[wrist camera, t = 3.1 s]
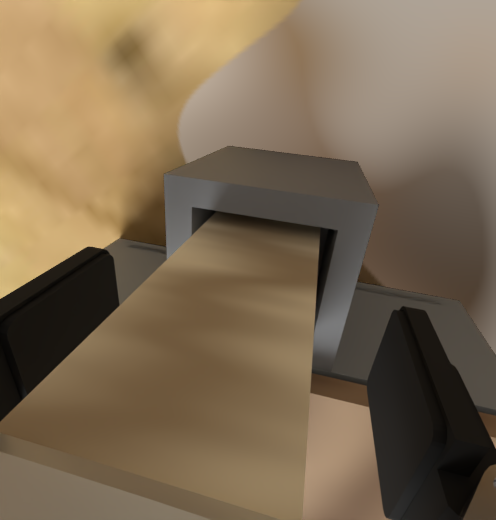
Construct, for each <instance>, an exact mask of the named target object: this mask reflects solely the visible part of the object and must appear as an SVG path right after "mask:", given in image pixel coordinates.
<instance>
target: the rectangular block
mask: <svg viewBox="0 0 496 520" xmlns="http://www.w3.org/2000/svg"><path fill="white" fill-rule="evenodd" d="M319 243H320V227H315V226H309V225H302V224H296V223H290V222H283V221H277V220H271V219H265V218H258V217H252V216H246V215H239V214H233V213H227V212H221V211H217V212H215V213H214V214H213V215H212V216H211V217H210V218H209V219H208V220H207V221H206V222H205V223H204V224H203V225H202V226H201V227H200V228H199V229H198V230H197V231H196V232H195V233H194V234H193V235H192V236H191V237H190V238H189V239H188V240H187V241H186V242H185V243H184V244H183V245H182V246H181V247H179V248H178V249H177V250H176V251H175V252H174V253H173V254H172V255H171V256H170V257H169V258H168V259H167V260H166V261H165V262H164V263H163V264H162V265H161V266H160V267H159V268H158V269H157V270H156V271H155V272H154V273H153V274H152V275H151V276H150V277H149V278H148V279H147V280H146V281H145V282H143V283H142V284H141V285H140V286H139V287H138V288H137V289H136V290H135V291H134V292H133V293H132V294H131V295H130V296H129V297H128V298H127V299H126V300H125V301H124V302H123V303H122V304H121V305H120V306H119V307H118V308H117V309H116V310H115V311H114V312H113V313H112V314H111V315H110V316H109V317H107V318H106V319H105V320H104V321H103V322H102V323H101V324H100V325H99V326H98V327H97V328H96V329H95V330H94V331H93V332H92V333H91V334H90V335H89V336H88V337H87V338H86V339H85V340H84V341H83V342H82V343H81V344H80V345H79V346H78V347H77V348H76V349H75V350H74V351H73V352H71V353H70V354H69V355H68V356H67V357H66V358H65V359H64V360H63V361H62V362H61V363H60V364H59V365H58V366H57V367H56V368H55V369H54V370H53V371H52V372H51V373H50V374H49V375H48V376H47V377H46V378H45V379H44V380H43V381H42V382H41V383H40V384H39V385H38V386H37V387H36V388H34V389H33V390H32V391H31V392H30V393H29V394H28V395H27V396H26V397H25V398H24V399H23V400H22V401H21V402H20V403H19V404H18V405H17V406H16V407H15V408H14V409H13V410H12V411H11V412H10V413H9V414H8V415H7V416H6V417H5V418H4V419H3V420H2V421H1V422H0V433H2V434H6V435H9V436H12V437H16V438H19V439H22V440H25V441H29V442H32V443H35V444H39V445H42V446H45V447H49V448H52V449H55V450H59V451H62V452H65V453H68V454H72V455H75V456H78V457H81V458H85V459H88V460H91V461H94V462H98V463H101V464H104V465H107V466H111V467H114V468H117V469H120V470H124V471H127V472H130V473H133V474H136V475H140V476H143V477H146V478H149V479H153V480H156V481H159V482H162V483H166V484H169V485H172V486H175V487H178V488H182V489H185V490H188V491H191V492H195V493H198V494H201V495H204V496H207V497H210V498H214V499H217V500H220V501H223V502H226V503H229V504H233V505H236V506H239V507H242V508H245V509H249V510H252V511H255V512H258V513H261V514H264V515H268V516H271V517H274V518H277V519H280V520H302V517H303V501H304V485H305V469H306V453H307V436H308V420H309V404H310V388H311V372H312V356H313V340H314V324H315V308H316V291H317V275H318V259H319Z"/></svg>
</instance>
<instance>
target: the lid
mask: <svg viewBox="0 0 496 520" xmlns="http://www.w3.org/2000/svg"><path fill="white" fill-rule="evenodd" d="M478 413H479V415H480V417H481V419H482V421H483V423H484V425H485V427H486V429H487V431H488V433H489V435H490V437H491V439H492V442H493V444H494V446H495V448H496V416H494V415H490V414H486V413H482V412H478ZM302 520H392V519H388V518H386V517H385V515H384V511H383V505H382V498H381V491H380V483H379V476H378V468H377V461H376V454H375V446H374V439H373V432H372V424H371V417H370V409H369V402H368V395H367V386H365V385H361V384H357V383H353V382H348V381H344V380H340V379H335V378H331V377H327V376H322V375H318V374H314V373H311V388H310V404H309V420H308V436H307V453H306V469H305V485H304V501H303V517H302Z"/></svg>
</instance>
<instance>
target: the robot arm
mask: <svg viewBox="0 0 496 520" xmlns="http://www.w3.org/2000/svg"><path fill="white" fill-rule="evenodd" d="M119 306H120V305H119V297H118V289H117V281H116V273H115V264H114V258H113V256H112V255H110V253H109V252H108V251H107V250H105V249H100V248H95V247H86V248H85V249H83V250H81V251H80V252H78V253H76V254H75V255H73V256H71V257H70V258H68V259H66V260H65V261H63V262H61V263H60V264H58V265H56V266H55V267H53V268H51V269H50V270H48V271H46V272H45V273H43V274H41V275H40V276H38V277H36V278H35V279H33V280H31V281H30V282H28V283H26V284H25V285H23V286H21V287H20V288H18V289H16V290H15V291H13V292H11V293H10V294H8V295H6V296H5V297H3V298H1V299H0V422H1V421H2V420H3V419H4V418H5V417H6V416H7V415H8V414H9V413H10V412H11V411H12V410H13V409H14V408H15V407H16V406H17V405H18V404H19V403H20V402H21V401H22V400H23V399H24V398H25V397H26V396H27V395H28V394H29V393H30V392H31V391H32V390H33V389H34V388H36V387H37V386H38V385H39V384H40V383H41V382H42V381H43V380H44V379H45V378H46V377H47V376H48V375H49V374H50V373H51V372H52V371H53V370H54V369H55V368H56V367H57V366H58V365H59V364H60V363H61V362H62V361H63V360H64V359H65V358H66V357H67V356H68V355H69V354H70V353H71V352H73V351H74V350H75V349H76V348H77V347H78V346H79V345H80V344H81V343H82V342H83V341H84V340H85V339H86V338H87V337H88V336H89V335H90V334H91V333H92V332H93V331H94V330H95V329H96V328H97V327H98V326H99V325H100V324H101V323H102V322H103V321H104V320H105V319H106V318H107V317H109V316H110V315H111V314H112V313H113V312H114V311H115V310H116V309H117V308H118V307H119ZM367 395H368V402H369V409H370V417H371V424H372V432H373V439H374V446H375V454H376V461H377V468H378V476H379V483H380V491H381V498H382V505H383V511H384V515H385V517H386V518H388V519H392V520H496V448H495V446H494V444H493V442H492V439H491V437H490V435H489V433H488V431H487V429H486V427H485V425H484V423H483V421H482V419H481V417H480V415H479V413H478V411H477V409H476V407H475V404H474V402H473V400H472V398H471V396H470V394H469V392H468V390H467V388H466V386H465V384H464V382H463V380H462V378H461V376H460V374H459V372H458V370H457V368H456V367H455V366H454V365H452V364H451V363H450V361H449V359H448V357H447V355H446V353H445V350H444V348H443V346H442V344H441V342H440V340H439V338H438V336H437V333H436V331H435V329H434V327H433V325H432V323H431V321H430V319H429V316H428V314H427V312H426V311H425V310H421V309H416V308H411V307H406V306H402V307H401V308H400V310H393V311H392V313H391V316H390V319H389V321H388V324H387V327H386V330H385V332H384V335H383V338H382V341H381V343H380V346H379V349H378V352H377V354H376V357H375V360H374V362H373V365H372V368H371V371H370V373H369V376H368V380H367ZM0 520H280V519H277V518H274V517H271V516H268V515H264V514H261V513H258V512H255V511H252V510H249V509H245V508H242V507H239V506H236V505H233V504H229V503H226V502H223V501H220V500H217V499H214V498H210V497H207V496H204V495H201V494H198V493H195V492H191V491H188V490H185V489H182V488H178V487H175V486H172V485H169V484H166V483H162V482H159V481H156V480H153V479H149V478H146V477H143V476H140V475H136V474H133V473H130V472H127V471H124V470H120V469H117V468H114V467H111V466H107V465H104V464H101V463H98V462H94V461H91V460H88V459H85V458H81V457H78V456H75V455H72V454H68V453H65V452H62V451H59V450H55V449H52V448H49V447H45V446H42V445H39V444H35V443H32V442H29V441H25V440H22V439H19V438H16V437H12V436H9V435H6V434H2V433H0Z"/></svg>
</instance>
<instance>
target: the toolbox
mask: <svg viewBox="0 0 496 520" xmlns="http://www.w3.org/2000/svg"><path fill="white" fill-rule="evenodd" d="M164 194H165V221H166V247H164V246H158V245H153V244H148V243H142V242H137V241H131V240H126V239H120V238H119V239H118V240H116V241H115V242H113V243H112V244H110V245H108V246H107V247H105V248H104V249H105V250H107V251H108V252H109V253H110V255H112V256H113V258H114V264H115V273H116V281H117V289H118V297H119V305H121V304H122V303H123V302H124V301H125V300H126V299H127V298H128V297H129V296H130V295H131V294H132V293H133V292H134V291H135V290H136V289H137V288H138V287H139V286H140V285H141V284H142V283H143V282H145V281H146V280H147V279H148V278H149V277H150V276H151V275H152V274H153V273H154V272H155V271H156V270H157V269H158V268H159V267H160V266H161V265H162V264H163V263H164V262H165V261H166V260H167V259H168V258H169V257H170V256H171V255H172V254H173V253H174V252H175V251H176V250H177V249H178V248H179V247H181V246H182V245H183V244H184V243H185V242H186V241H187V240H188V239H189V238H190V237H191V236H192V235H193V234H194V233H195V232H196V231H197V230H198V229H199V228H200V227H201V226H202V225H203V224H204V223H205V222H206V221H207V220H208V219H209V218H210V217H211V216H212V215H213V214H214V213H215V212H217V211H221V212H227V213H233V214H239V215H246V216H252V217H258V218H265V219H271V220H277V221H283V222H290V223H296V224H302V225H309V226H315V227H320V243H319V259H318V275H317V291H316V308H315V324H314V340H313V356H312V372H311V373H314V374H318V375H322V376H327V377H331V378H335V379H340V380H344V381H348V382H353V383H357V384H361V385H365V386H367V380H368V376H369V373H370V371H371V368H372V365H373V362H374V360H375V357H376V354H377V352H378V349H379V346H380V343H381V341H382V338H383V335H384V332H385V330H386V327H387V324H388V321H389V319H390V316H391V313H392V311H393V310H400V308H401V307H402V306H406V307H411V308H416V309H421V310H425V311H426V312H427V314H428V316H429V319H430V321H431V323H432V325H433V327H434V329H435V331H436V333H437V336H438V338H439V340H440V342H441V344H442V346H443V348H444V350H445V353H446V355H447V357H448V359H449V361H450V363H451V364H452V365H454V366H455V367H456V368H457V370H458V372H459V374H460V376H461V378H462V380H463V382H464V384H465V386H466V388H467V390H468V392H469V394H470V396H471V398H472V400H473V402H474V404H475V407H476V409H477V411H478V412H482V413H486V414H490V415H494V416H496V355H495V353H494V352H493V350H492V349H491V347H490V346H489V345H488V343H487V341H486V340H485V338H484V337H483V335H482V334H481V332H480V331H479V329H478V328H477V326H476V325H475V323H474V322H473V320H472V319H471V317H470V316H469V314H468V313H467V311H466V310H465V308H464V307H463V305H462V304H461V302H460V301H459V300H454V299H448V298H442V297H437V296H431V295H426V294H420V293H415V292H410V291H404V290H399V289H393V288H388V287H383V286H377V285H372V284H366V283H361V282H357V280H358V276H359V273H360V269H361V266H362V262H363V259H364V255H365V252H366V248H367V245H368V241H369V238H370V234H371V231H372V227H373V224H374V220H375V217H376V213H377V210H378V206H379V204H378V202H377V200H376V198H375V196H374V194H373V192H372V190H371V188H370V186H369V184H368V182H367V180H366V178H365V176H364V174H363V172H362V170H361V168H360V166H359V164H358V162H355V161H345V160H338V159H330V158H322V157H314V156H306V155H298V154H290V153H282V152H274V151H266V150H258V149H249V148H242V147H234V146H227V147H225V148H223V149H220V150H218V151H216V152H213V153H211V154H209V155H206V156H204V157H202V158H200V159H197V160H195V161H193V162H190V163H188V164H186V165H183V166H181V167H179V168H176V169H174V170H172V171H169V172H167V173H165V174H164Z"/></svg>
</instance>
